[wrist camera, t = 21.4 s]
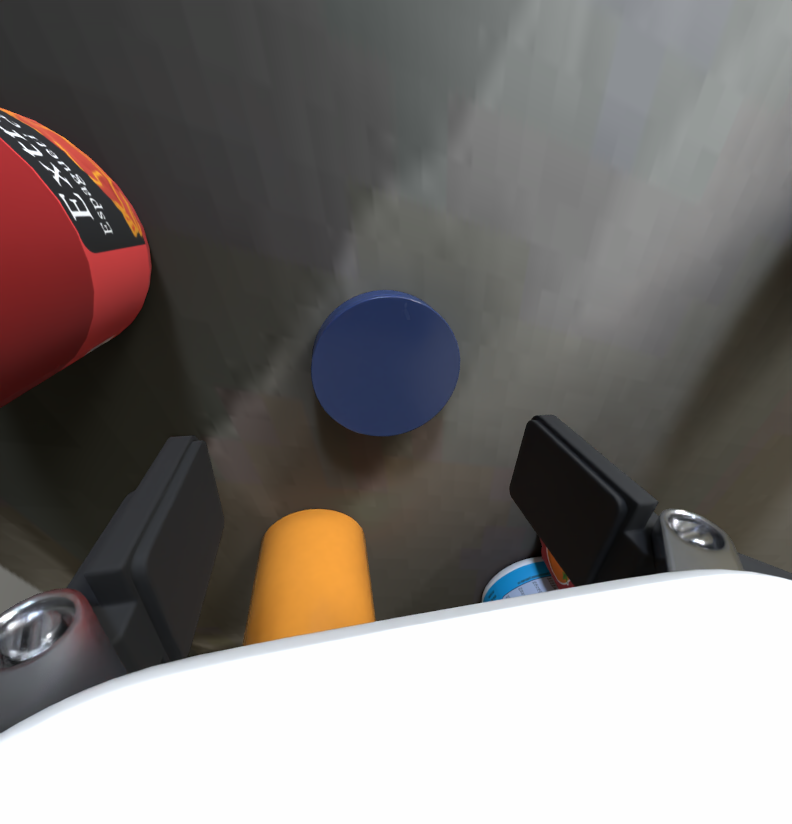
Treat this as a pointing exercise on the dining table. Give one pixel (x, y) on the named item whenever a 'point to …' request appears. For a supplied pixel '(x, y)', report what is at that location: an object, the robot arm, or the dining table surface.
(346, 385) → the lid
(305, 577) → the jar
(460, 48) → the dining table surface
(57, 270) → the canned food
